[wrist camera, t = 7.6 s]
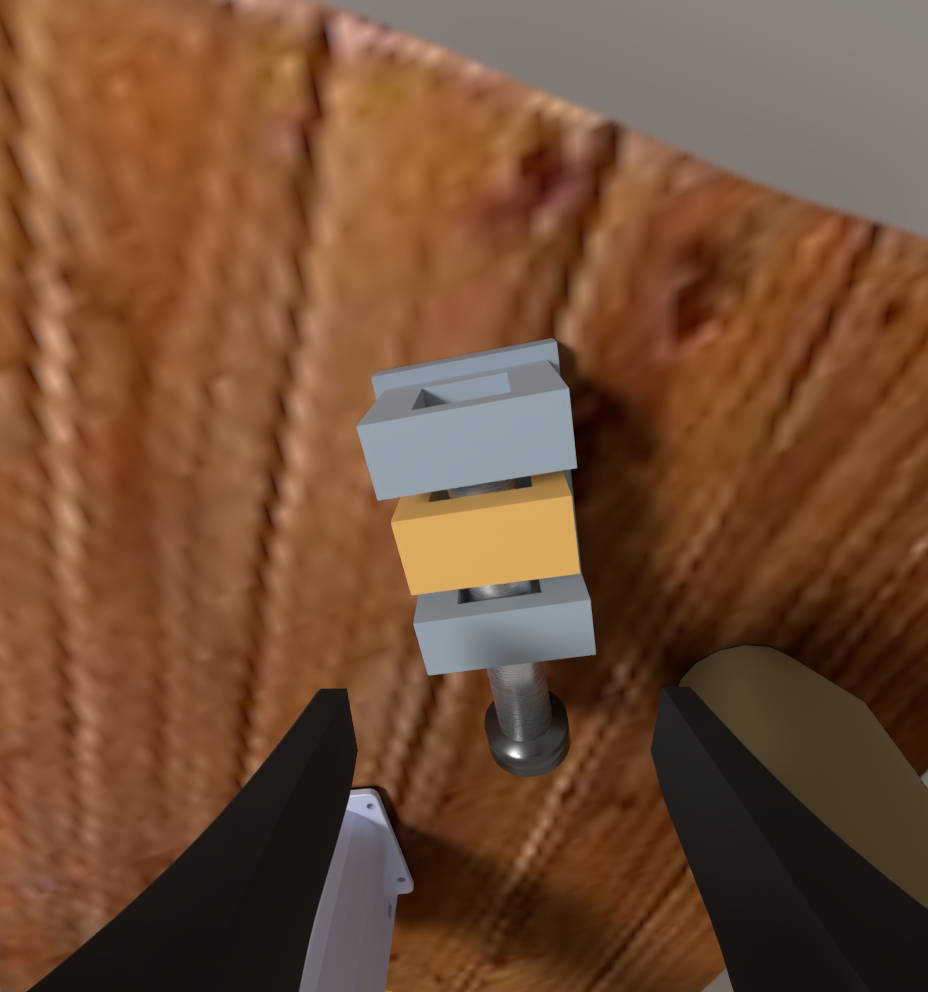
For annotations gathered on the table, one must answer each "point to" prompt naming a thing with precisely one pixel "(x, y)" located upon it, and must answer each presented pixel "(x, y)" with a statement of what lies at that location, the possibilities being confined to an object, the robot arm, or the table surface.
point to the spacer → (487, 536)
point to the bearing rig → (476, 460)
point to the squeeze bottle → (824, 755)
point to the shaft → (520, 690)
